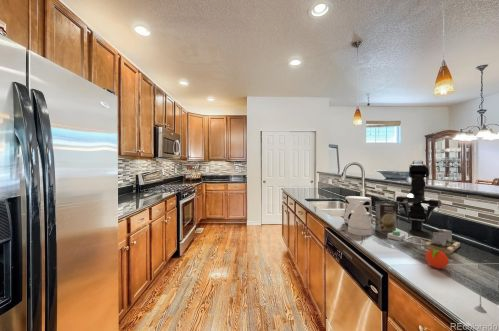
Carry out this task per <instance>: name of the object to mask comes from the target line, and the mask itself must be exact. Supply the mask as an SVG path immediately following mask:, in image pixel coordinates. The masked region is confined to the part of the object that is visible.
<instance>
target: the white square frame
mask: <svg viewBox="0 0 499 331" xmlns="http://www.w3.org/2000/svg"><path fill="white" fill-rule="evenodd" d="M388 239H391V240H395V241H399V242H401V241H402V240H403V239H406V234H403V233H400V235H399V236H397V235H393V232H388V233H387V240H388Z"/></svg>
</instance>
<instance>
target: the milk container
mask: <svg viewBox="0 0 499 331" xmlns="http://www.w3.org/2000/svg"><path fill="white" fill-rule="evenodd" d="M359 201H364V203H363V206H364V207H365V208H366V210H367V212H369V213H370V214H369V218H370V219H371V220H370V221H371V223H372V224H373V222H374V217H373V213H372V208H373V207H372V206H373V205H372V198H370V197H368V196H367V197H366V196H357V195H349V196H345V199H344V206H345V207H344V212H343V221H344V223H345V224H347V225H348V221H349V219H350V216H351V214H352V213H351V211H353V210H354V208H355V207H356V206H357V205H358V204H360V203H359Z"/></svg>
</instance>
